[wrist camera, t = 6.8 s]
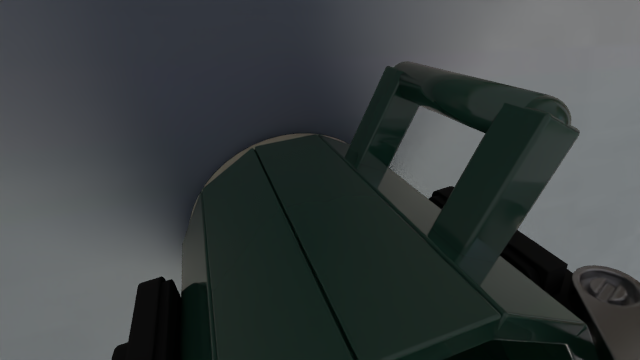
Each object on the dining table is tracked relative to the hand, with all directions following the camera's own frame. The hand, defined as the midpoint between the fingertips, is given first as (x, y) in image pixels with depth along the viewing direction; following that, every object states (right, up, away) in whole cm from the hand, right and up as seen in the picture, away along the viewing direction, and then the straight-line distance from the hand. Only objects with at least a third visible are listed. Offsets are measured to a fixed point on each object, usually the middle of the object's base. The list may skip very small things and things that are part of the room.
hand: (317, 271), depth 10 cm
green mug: (0, +2, +2) cm, 3 cm away
